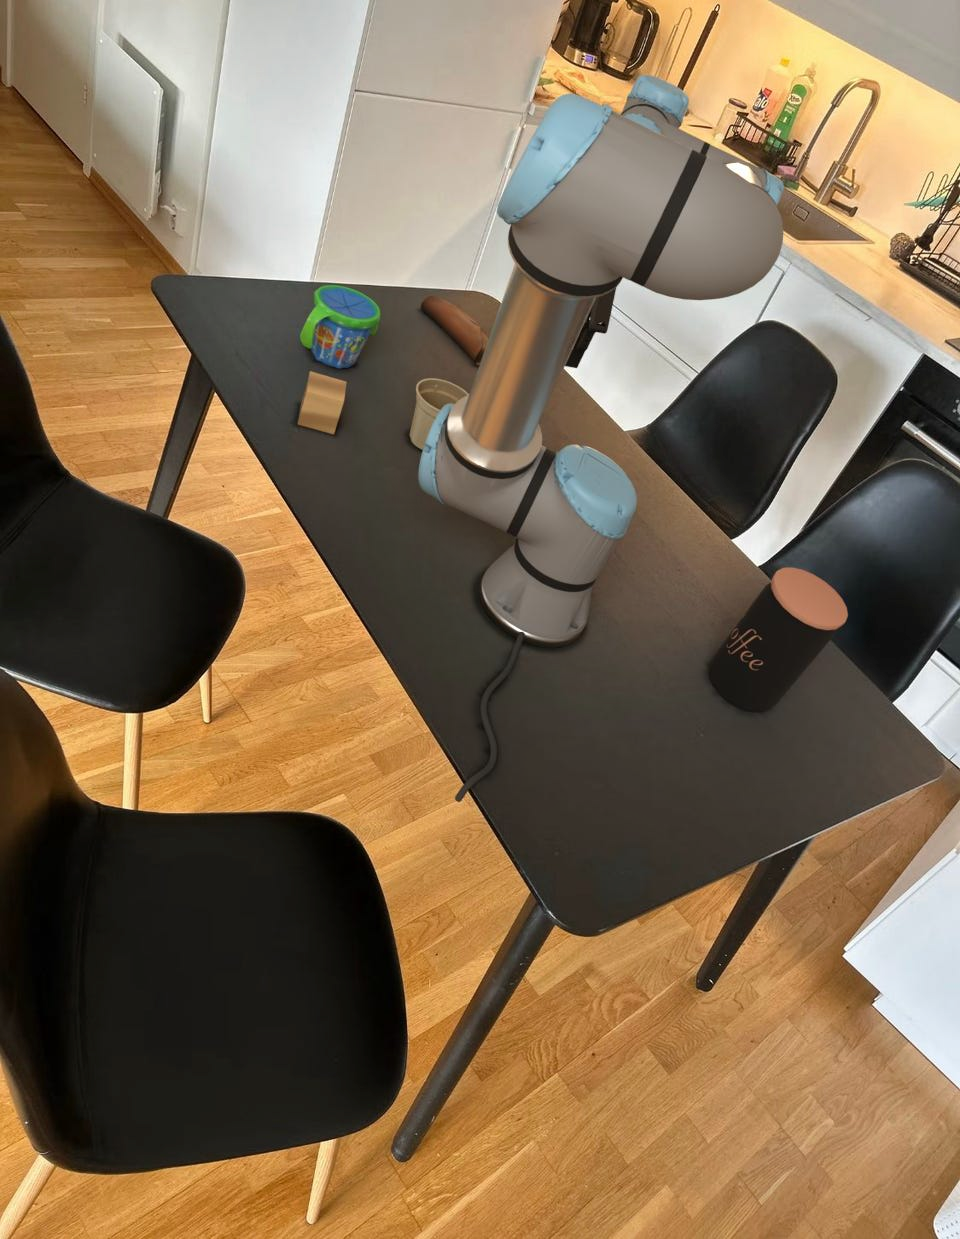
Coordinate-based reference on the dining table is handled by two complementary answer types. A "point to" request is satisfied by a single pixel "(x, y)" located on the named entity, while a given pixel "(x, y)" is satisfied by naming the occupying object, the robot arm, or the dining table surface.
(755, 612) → the coffee jar
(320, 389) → the maple block
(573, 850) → the dining table surface
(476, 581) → the dining table surface
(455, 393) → the flower pot
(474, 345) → the sunglasses case
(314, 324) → the snack cup
